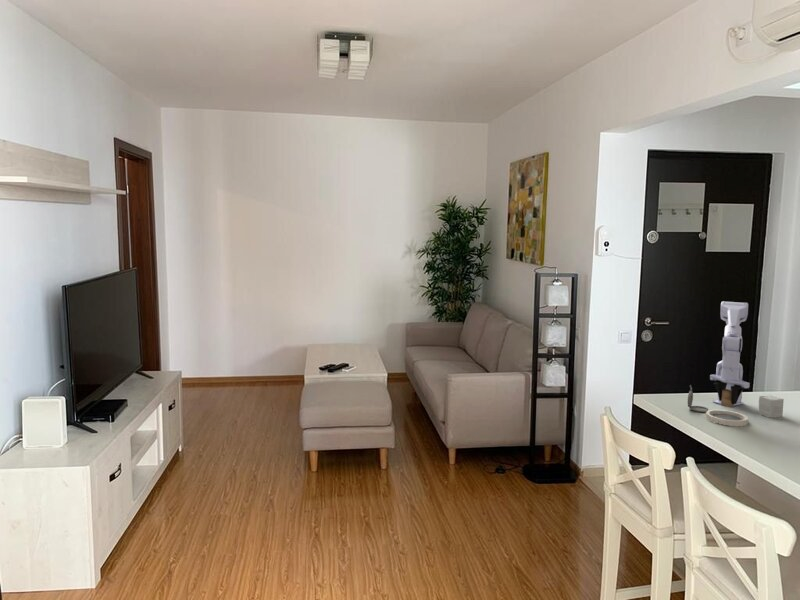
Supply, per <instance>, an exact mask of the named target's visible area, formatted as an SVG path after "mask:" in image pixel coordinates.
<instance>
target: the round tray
mask: <svg viewBox="0 0 800 600" xmlns="http://www.w3.org/2000/svg"><path fill="white" fill-rule="evenodd" d="M705 418H707V419H706V420H707V421H709V420H710V421H709V422H711V421H712V422H711V423H714V422H715V423H714V424H717V423H719V424H718V425H721V424H723V425H722V426H726V425H730V426H729V427H744V426H747V425H748V423H749V418H748V416H747V415H745V414H743V413H740V412H736V411H732V410H726V409H725V410H724V409H710V410H709V409H708V411H707V412H705ZM743 425H744V426H743Z"/></svg>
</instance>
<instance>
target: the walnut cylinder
mask: <svg viewBox="0 0 800 600" xmlns="http://www.w3.org/2000/svg"><path fill="white" fill-rule="evenodd" d="M731 399H732V393H731V389H722V399H721V404H720V405H721V406H722V407H726V408H734V407H735V406H734V404H732V403H731Z"/></svg>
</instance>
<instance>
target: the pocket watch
mask: <svg viewBox="0 0 800 600" xmlns="http://www.w3.org/2000/svg"><path fill="white" fill-rule="evenodd" d="M689 389H690V390H689V391H688V395H687V407H689V409H690V410H691V411H693V412H697V413H706V412H707V411H709V408H707V407H705V406H701V405H693V400H694V393H693V387H692V385H691V384H690V385H689Z"/></svg>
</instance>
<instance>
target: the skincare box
mask: <svg viewBox="0 0 800 600" xmlns="http://www.w3.org/2000/svg"><path fill="white" fill-rule="evenodd" d="M784 402H785V401H784V398H781V397H777V396H774V395H772V394H771V395H770V394H768V395H759V397H758V415H761V416H764V417H768V418H771V419H775V418H782V417H783V414H784Z"/></svg>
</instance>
